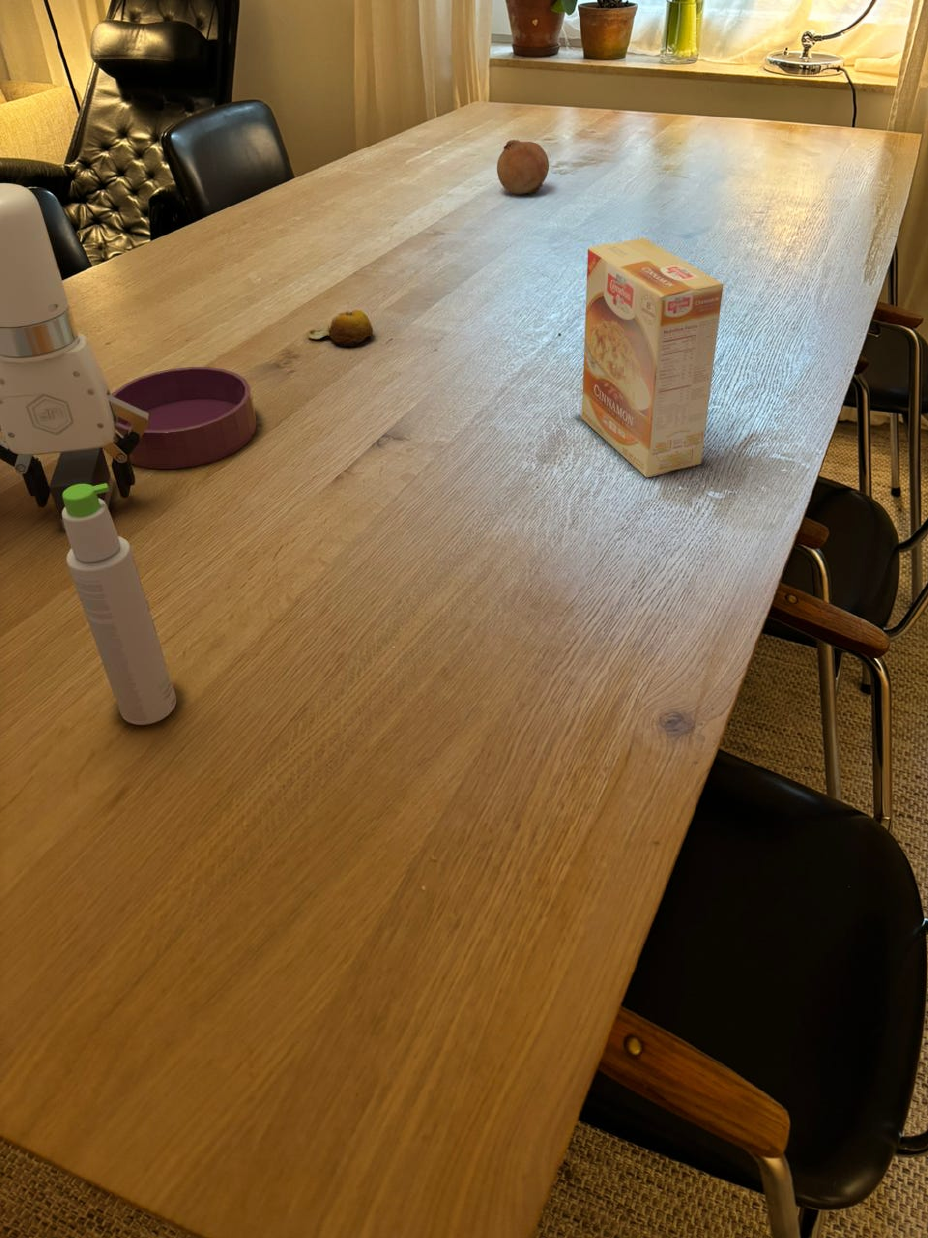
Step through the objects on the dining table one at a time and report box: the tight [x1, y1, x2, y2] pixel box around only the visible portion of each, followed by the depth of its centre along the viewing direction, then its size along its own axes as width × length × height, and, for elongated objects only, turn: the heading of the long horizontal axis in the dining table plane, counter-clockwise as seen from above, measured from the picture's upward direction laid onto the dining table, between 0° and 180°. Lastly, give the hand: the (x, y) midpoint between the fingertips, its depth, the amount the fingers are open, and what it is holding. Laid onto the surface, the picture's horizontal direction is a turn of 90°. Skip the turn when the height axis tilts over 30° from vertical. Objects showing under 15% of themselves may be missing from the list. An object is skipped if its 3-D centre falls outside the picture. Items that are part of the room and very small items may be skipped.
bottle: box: [62, 483, 177, 726], centre depth 73 cm, size 4×4×20 cm
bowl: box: [111, 366, 257, 470], centre depth 113 cm, size 16×16×4 cm
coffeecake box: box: [580, 237, 725, 478], centre depth 103 cm, size 15×7×20 cm, turn 22°
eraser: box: [49, 447, 114, 531], centre depth 101 cm, size 4×8×5 cm, turn 9°
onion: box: [496, 139, 550, 196], centre depth 180 cm, size 10×9×10 cm
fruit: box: [307, 309, 374, 348], centre depth 133 cm, size 8×8×4 cm
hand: (85, 494), depth 102 cm, fingers open, 7 cm apart
